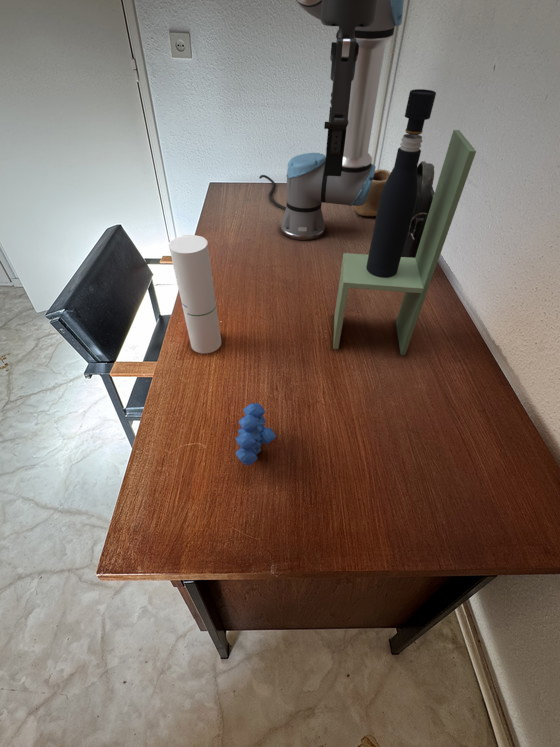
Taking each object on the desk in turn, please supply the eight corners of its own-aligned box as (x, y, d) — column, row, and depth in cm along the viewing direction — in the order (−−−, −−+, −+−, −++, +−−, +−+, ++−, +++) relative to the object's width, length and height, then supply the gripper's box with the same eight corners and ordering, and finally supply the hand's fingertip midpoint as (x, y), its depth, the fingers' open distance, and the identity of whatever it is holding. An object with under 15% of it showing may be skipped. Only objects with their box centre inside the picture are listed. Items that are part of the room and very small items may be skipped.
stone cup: (356, 221, 135) (364, 176, 124) (353, 207, 143) (359, 165, 132) (398, 221, 134) (409, 177, 124) (392, 208, 143) (401, 165, 132)
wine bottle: (397, 279, 75) (447, 96, 53) (365, 275, 76) (401, 94, 54) (397, 263, 79) (443, 88, 57) (366, 260, 80) (400, 86, 58)
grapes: (270, 485, 63) (269, 446, 54) (231, 479, 64) (225, 440, 55) (281, 429, 71) (282, 388, 62) (246, 424, 72) (243, 383, 63)
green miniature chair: (334, 317, 95) (361, 125, 65) (399, 323, 94) (459, 129, 63) (333, 348, 87) (364, 145, 56) (405, 355, 86) (476, 151, 55)
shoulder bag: (417, 284, 106) (451, 180, 86) (385, 281, 107) (411, 177, 87) (409, 246, 122) (436, 150, 101) (381, 244, 122) (402, 149, 102)
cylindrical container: (209, 329, 91) (192, 231, 73) (227, 343, 88) (215, 244, 70) (185, 343, 88) (161, 243, 70) (203, 357, 84) (183, 257, 66)
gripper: (325, -16, 58) (314, 140, 73) (319, -16, 41) (307, 187, 56) (373, -15, 57) (352, 141, 73) (388, -15, 40) (357, 189, 56)
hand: (333, 161), depth 64 cm, fingers open, 13 cm apart
